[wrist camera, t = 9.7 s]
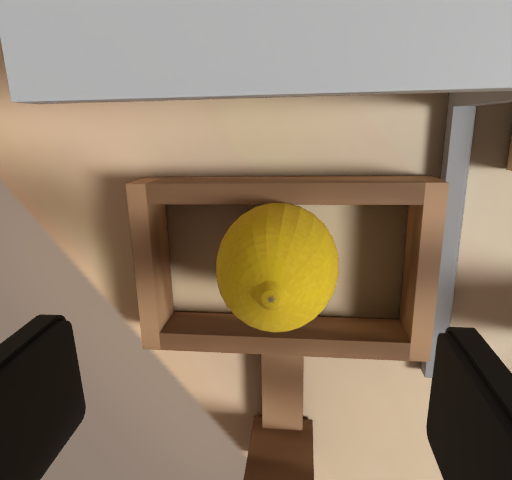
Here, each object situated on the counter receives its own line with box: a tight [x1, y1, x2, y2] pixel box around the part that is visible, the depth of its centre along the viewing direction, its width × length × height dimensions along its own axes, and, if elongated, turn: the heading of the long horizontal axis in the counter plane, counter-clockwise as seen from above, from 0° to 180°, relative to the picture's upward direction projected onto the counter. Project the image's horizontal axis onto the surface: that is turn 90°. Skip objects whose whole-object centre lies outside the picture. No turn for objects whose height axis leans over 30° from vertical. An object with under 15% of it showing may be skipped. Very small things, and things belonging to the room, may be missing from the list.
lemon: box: [216, 203, 339, 332], centre depth 19 cm, size 6×6×8 cm
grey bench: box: [0, 0, 512, 378], centre depth 16 cm, size 22×15×12 cm
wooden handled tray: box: [125, 176, 449, 480], centre depth 21 cm, size 18×15×7 cm
